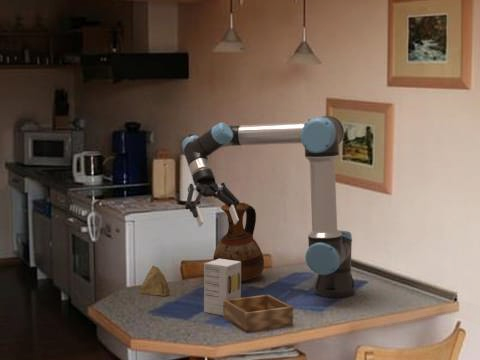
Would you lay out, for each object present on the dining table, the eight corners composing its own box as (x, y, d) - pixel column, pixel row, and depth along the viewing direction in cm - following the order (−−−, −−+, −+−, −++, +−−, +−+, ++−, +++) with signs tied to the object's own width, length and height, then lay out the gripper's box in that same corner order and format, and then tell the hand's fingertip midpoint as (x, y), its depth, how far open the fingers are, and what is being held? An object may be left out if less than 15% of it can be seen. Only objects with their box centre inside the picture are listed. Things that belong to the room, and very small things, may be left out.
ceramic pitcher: (202, 279, 315) (202, 203, 311) (232, 270, 332) (233, 197, 328) (244, 287, 304) (244, 208, 300) (273, 276, 320) (274, 201, 317)
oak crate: (268, 312, 272) (268, 294, 271) (292, 325, 257) (293, 307, 257) (223, 318, 265) (223, 300, 264) (246, 332, 250) (246, 313, 249)
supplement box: (226, 316, 267) (226, 266, 265) (203, 312, 272) (203, 263, 269) (241, 309, 275) (241, 260, 273) (218, 305, 280) (218, 257, 278)
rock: (177, 288, 293) (166, 279, 301) (165, 272, 289) (154, 263, 297) (154, 309, 290) (144, 298, 298) (142, 293, 286) (131, 283, 294)
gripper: (229, 179, 299) (246, 227, 288) (166, 181, 288) (182, 231, 277) (236, 167, 294) (254, 215, 283) (173, 168, 282) (189, 219, 271)
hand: (219, 223), depth 280 cm, fingers open, 13 cm apart
